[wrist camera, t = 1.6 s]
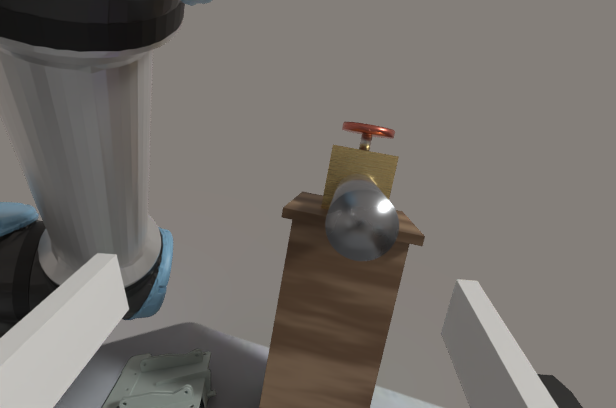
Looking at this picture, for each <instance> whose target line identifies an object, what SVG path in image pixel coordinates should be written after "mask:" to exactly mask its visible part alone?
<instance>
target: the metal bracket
mask: <svg viewBox="0 0 616 408" xmlns="http://www.w3.org/2000/svg"><path fill="white" fill-rule="evenodd" d="M205 354H206V355H205ZM203 355H205V356H203ZM210 357H211V352H210V351H209V352H203V353H202V351H201V350H200V349H195V350H193V351H191V352H189V353H188V354H164V355H158V356H153V357H151V354H150V353H148V354H142V355H136V356H133V357H131V358H130V359H129V360H128V362H127V364H126V365H125V367H124V369H123V370H122V372H121V373H122V375H121V376H120V378H119V380H118V382H117V383H116V385H115V387H114V388H113V390H112V392H111V394H110V395H109V397H108V399H107V401H106V402H105V404H104V406H103V407H102V408H190V407H191V406H192V405H193V407H192V408H199V406H200V401H201V397H202V398H203V403H204V408H207V402H208V397H213V396H216V391H215V390H214V391H213V390H212V391H210V390H211V371H210V369H208V366H209V361H210ZM126 390H127V391H126Z"/></svg>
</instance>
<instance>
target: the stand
mask: <svg viewBox="0 0 616 408" xmlns="http://www.w3.org/2000/svg"><path fill="white" fill-rule="evenodd" d="M322 200H323V196H322V195H317V194H311V193H307V192H302V193H300V194H299V195H298V196H297V197H296V198H294V199H293V200H292V201H291V202H289V203H288V204H287V205H286V206H285V207H284V208H283V213H282V217H283V218H288V219H292V226H291V232H290V237H289V242H288V248H287V254H286V259H285V265H284V271H283V277H282V282H281V287H280V293H279V299H278V305H277V310H276V315H275V321H274V327H273V333H272V338H271V344H270V349H269V355H268V361H267V366H266V372H265V377H264V383H263V389H262V394H261V400H260V406H259V408H370V405H371V400H372V396H373V392H374V388H375V384H376V379H377V376H378V371H379V367H380V363H381V359H382V355H383V351H384V347H385V343H386V339H387V334H388V330H389V326H390V322H391V318H392V314H393V310H394V305H395V301H396V297H397V293H398V289H399V285H400V281H401V277H402V272H403V268H404V264H405V260H406V256H407V252H408V247H409V244H414V245H419V246H422V245H423V242H424V237H425V236H424V235H423V234H422V233H421V232H420V231H419V229H418V228H417V227H416V226H415V225H414V224H413V223H412V222H411V221H410V219H409V218H408V217H407V216H406V215H405V214H404V213H403V212H402V211H398V210H396V212H397V214H398V218H399V233H398V236H397V239H396V241H395V243H394V245H393V246H392V247H391V249H390V250H389V251H388V252H386V253H385V254H384V255H382V256H381V257H379V258H376V259H374V260H369V261H355V260H351V259H348V258H346V257H344V256H342V255H341V254H339V253H338V252H337V251H336V250H335V249H334V248H333V247H332V245H331V244H330V242H329V240H328V238H327V235H326V230H325V221H326V216H327V213H328V209H323V208H321V205H322Z"/></svg>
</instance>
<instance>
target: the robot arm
mask: <svg viewBox="0 0 616 408" xmlns="http://www.w3.org/2000/svg"><path fill="white" fill-rule="evenodd" d="M211 1H212V0H0V118H1V120H2V122H3V125H4V127H5V130H6V132H7V135H8V137H9V140H10V142H11V144H12V147H13V149H14V152H15V154H16V157H17V159H18V161H19V163H20V166H21V169H22V171H23V173H24V176H25V179H26V181H27V183H28V186H29V188H30V191H31V193H32V196H33V198H34V200H35V203H36V205H37V208H38V210H39V213H40V215H41V217H42V220H43V221H39V220H37V219H38V213H37V212H36V209H35V208H34V207H33V206H31V205H24V204H22V203H11V202H0V408H53V407H54V406H55V405H56V403H57V402H58V401H59V399H60V398H61V397H62V396H63V394H64V393H65V392H66V390H67V389H68V388H69V386H70V385H71V384H72V383H73V381H74V380H75V379H76V377H77V376H78V375H79V373H80V372H81V371H82V370H83V368H84V367H85V366H86V364H87V363H88V362H89V361H90V359H91V358H92V357H93V355H94V354H95V353H96V351H97V350H98V349H99V348H100V346H101V345H102V344H103V342H104V341H105V340H106V338H107V337H108V336H109V335H110V333H111V332H112V331H113V329H114V328H115V326H116V325H117V324H118V323H119V322H120V320H121V319H124V320H132V319H135V318H144V317H150V316H152V315H154V314H156V312H157V311H158V310H159V309H160V307H161V305H162V303H163V300H164V297H165V294H166V286H167V284H168V281H169V277H170V271H171V264H172V256H173V237H172V234H171V233H170V231H168V230H166V229H162V228H159V227H158V226H157V224H156V222H155V221H154V220H153V218H152V217H151V216H150V215H149V214H148V195H149V163H150V128H151V96H152V93H151V92H152V61H153V49H155V48H158V47H160V46H162V45H164V44H165V43H167V42H168V41H170V40H171V39H172V38H173V37H175V35H176V34H177V33H178V31H179V30H180V28H181V25H182V22H183V16H184V6H185V4H188V5H191V6H192V5H195V4H197V3H202V4H205V3H209V2H211ZM441 335H442V337H443V340H444V342H445V345H446V348H447V350H448V353H449V355H450V358H451V360H452V363H453V365H454V368H455V370H456V373H457V375H458V378H459V380H460V383H461V386H462V388H463V391H464V393H465V396H466V398H467V401H468V403H469V406H470V408H583V407H582V406H581V405H580V403H579V402H578V401H577V399H576V398H575V396H574V395H573V393H572V392H571V391H569V389H567V388H566V387H565V386H564V385H563V384H562V383H561V382H560V381H559V380H557V379H556V378H555V377H554V376H553V375H540V374H536V372H535V370H534V369H533V367H532V366H531V364H530V362H529V361H528V360H527V358H526V356H525V355H524V353H523V352H522V350H521V348H520V347H519V345H518V344H517V342H516V341H515V339H514V338H513V336H512V334H511V333H510V331H509V330H508V328H507V327H506V325H505V324H504V322H503V320H502V319H501V317H500V316H499V314H498V313H497V311H496V309H495V308H494V306H493V305H492V303H491V302H490V300H489V299H488V297H487V295H486V294H485V293H484V291H483V289H482V288H481V286H480V285H479V283H478V281H470V280H458V279H457V280H456V284H455V287H454V290H453V294H452V297H451V301H450V305H449V308H448V312H447V315H446V318H445V322H444V325H443V329H442V332H441Z"/></svg>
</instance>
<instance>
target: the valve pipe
mask: <svg viewBox="0 0 616 408" xmlns="http://www.w3.org/2000/svg"><path fill="white" fill-rule="evenodd" d="M342 129H343V130H345V131H349V132H353V133H358V134H362V138H361V143H360V147H359V149H354V148H348V147H343V146H337V145H333V148H332V154H331V158H330V164H329V169H328V174H327V180H326V185H325V190H324V195H323V200H322V205H321V208H323V209H328V213H327V216H326V221H325V230H326V235H327V238H328V240H329V242H330V244H331V245H332V247H333V248H334V249H335V250H336V251H337V252H338V253H339V254H341V255H342V256H344V257H346V258H348V259H351V260H355V261H369V260H374V259H376V258H379V257H381V256H382V255H384V254H385V253H386V252H388V251H389V250H390V249H391V247H392V246H393V245H394V243H395V241H396V239H397V236H398V233H399V218H398V214H397V212H396V210H395V208H394V206H393V205H392V204H391V202H390V201H389V197H390V193H391V188H392V184H393V179H394V175H395V171H396V166H397V162H398V157H397V156H392V155H386V154H381V153H376V152H370V151H369V149H370V145H371V140H372V136H374V137H381V138H394V133H395V131H394V130H392V129H388V128H384V127H379V126H374V125H368V124H363V123H355V122H344V123H343V128H342Z"/></svg>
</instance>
